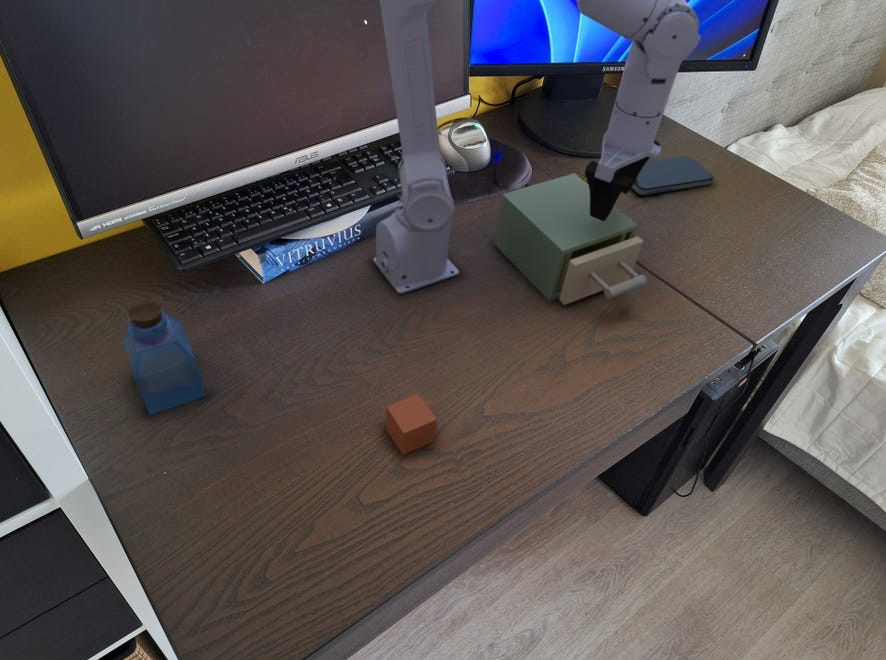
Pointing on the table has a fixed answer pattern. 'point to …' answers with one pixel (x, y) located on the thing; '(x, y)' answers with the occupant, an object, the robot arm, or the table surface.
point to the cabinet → (552, 228)
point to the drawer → (601, 269)
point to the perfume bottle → (161, 358)
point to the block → (410, 423)
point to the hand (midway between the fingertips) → (609, 203)
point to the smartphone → (670, 175)
